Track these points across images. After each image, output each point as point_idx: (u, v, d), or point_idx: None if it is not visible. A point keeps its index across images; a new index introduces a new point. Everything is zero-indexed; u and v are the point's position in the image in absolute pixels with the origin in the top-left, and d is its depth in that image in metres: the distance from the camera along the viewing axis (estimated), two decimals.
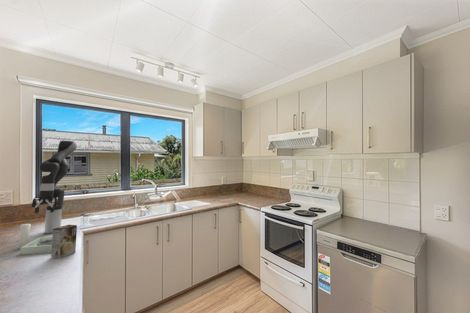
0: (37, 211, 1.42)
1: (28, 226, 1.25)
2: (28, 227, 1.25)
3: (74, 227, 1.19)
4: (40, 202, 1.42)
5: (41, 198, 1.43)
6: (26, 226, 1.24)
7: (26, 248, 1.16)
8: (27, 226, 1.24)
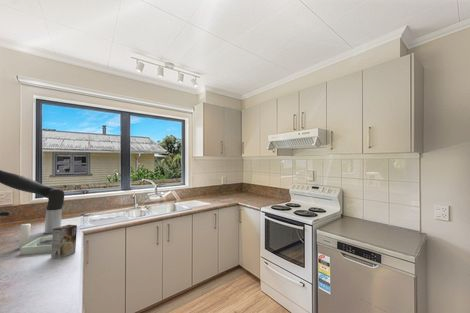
0: (6, 214, 1.26)
1: (28, 226, 1.25)
2: (28, 227, 1.25)
3: (74, 227, 1.19)
4: None
5: None
6: (26, 226, 1.24)
7: (26, 248, 1.16)
8: (27, 226, 1.24)
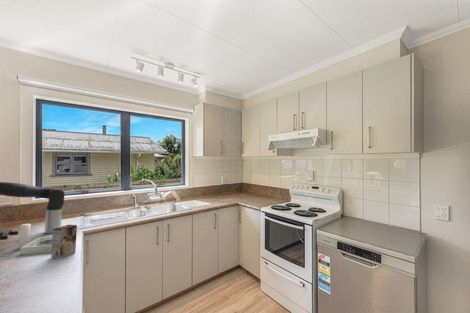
0: (15, 233, 1.27)
1: (28, 226, 1.25)
2: (28, 227, 1.25)
3: (74, 227, 1.19)
4: None
5: None
6: (26, 226, 1.24)
7: (26, 248, 1.16)
8: (27, 226, 1.24)
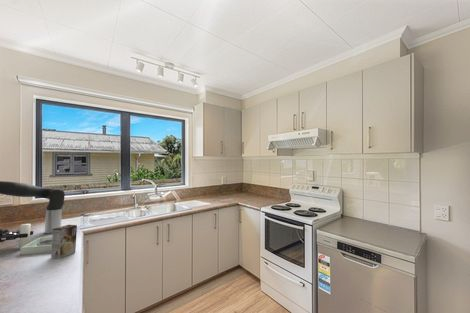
0: (30, 233, 1.28)
1: (28, 226, 1.25)
2: (28, 227, 1.25)
3: (74, 227, 1.19)
4: None
5: None
6: (26, 226, 1.24)
7: (26, 248, 1.16)
8: (27, 226, 1.24)
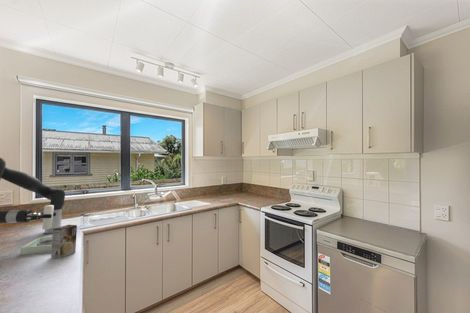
0: (53, 214, 1.29)
1: (51, 207, 1.27)
2: (51, 208, 1.27)
3: (74, 227, 1.19)
4: None
5: None
6: (50, 207, 1.26)
7: (26, 248, 1.16)
8: (51, 207, 1.26)
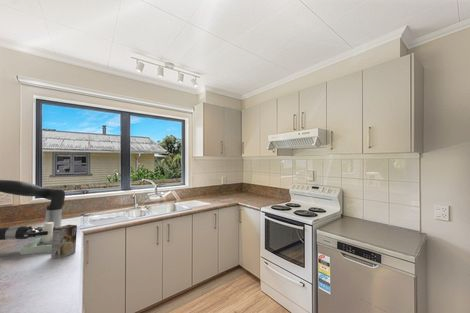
0: None
1: (51, 224, 1.26)
2: (51, 225, 1.26)
3: (74, 227, 1.19)
4: None
5: None
6: (50, 224, 1.25)
7: (26, 248, 1.16)
8: (50, 224, 1.26)
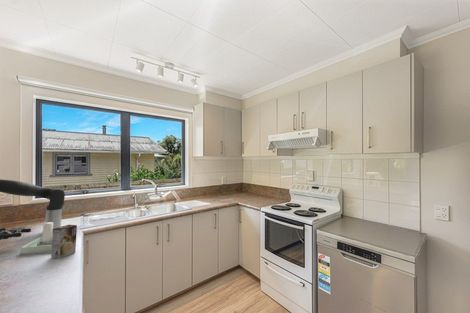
0: (27, 231, 1.26)
1: (51, 224, 1.26)
2: (51, 225, 1.26)
3: (74, 227, 1.19)
4: None
5: None
6: (49, 224, 1.25)
7: (26, 248, 1.16)
8: (50, 224, 1.26)
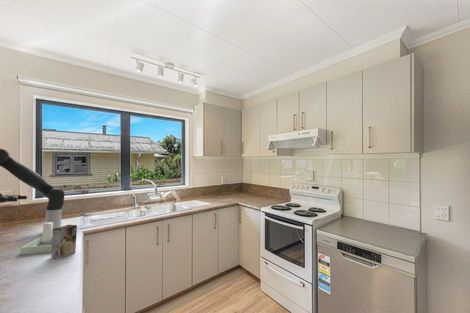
0: (23, 198, 1.30)
1: (51, 224, 1.26)
2: (51, 225, 1.26)
3: (74, 227, 1.19)
4: None
5: None
6: (49, 224, 1.25)
7: (26, 248, 1.16)
8: (50, 224, 1.25)
